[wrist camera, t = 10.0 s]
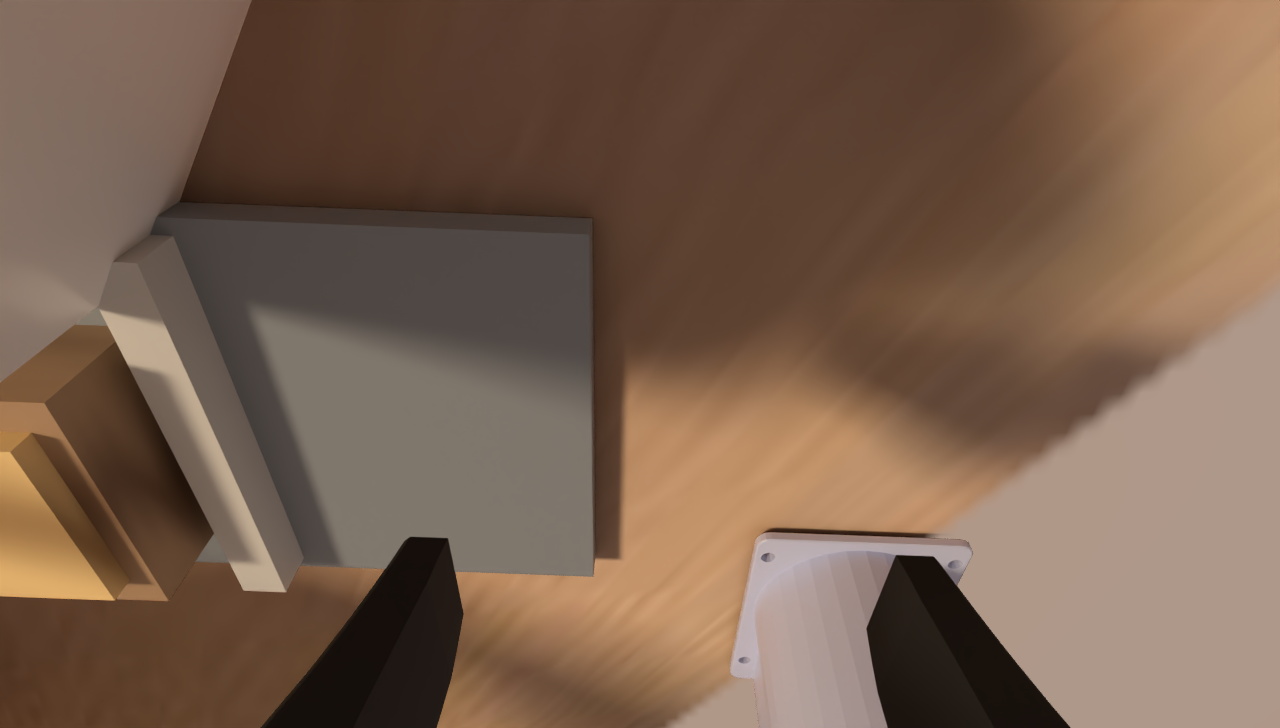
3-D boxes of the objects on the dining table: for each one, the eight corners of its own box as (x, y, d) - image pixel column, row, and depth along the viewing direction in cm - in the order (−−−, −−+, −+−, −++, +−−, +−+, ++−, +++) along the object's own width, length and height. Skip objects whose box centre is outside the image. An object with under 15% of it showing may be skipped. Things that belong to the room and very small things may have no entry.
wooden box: (224, 516, 24) (155, 620, 20) (82, 511, 24) (-10, 614, 20) (132, 326, 19) (22, 422, 16) (-45, 319, 19) (-193, 414, 16)
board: (595, 555, 26) (589, 624, 24) (53, 534, 26) (-9, 602, 24) (592, 218, 18) (582, 272, 16) (-201, 186, 18) (-335, 236, 15)
